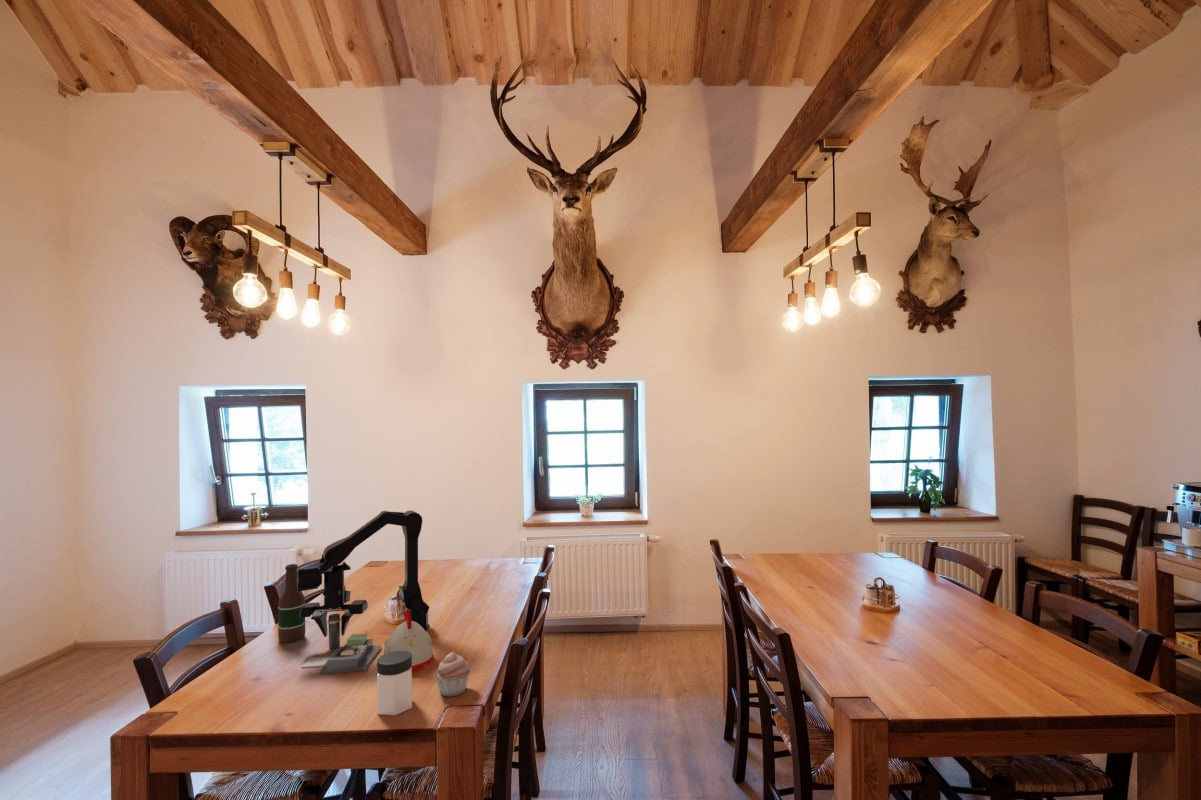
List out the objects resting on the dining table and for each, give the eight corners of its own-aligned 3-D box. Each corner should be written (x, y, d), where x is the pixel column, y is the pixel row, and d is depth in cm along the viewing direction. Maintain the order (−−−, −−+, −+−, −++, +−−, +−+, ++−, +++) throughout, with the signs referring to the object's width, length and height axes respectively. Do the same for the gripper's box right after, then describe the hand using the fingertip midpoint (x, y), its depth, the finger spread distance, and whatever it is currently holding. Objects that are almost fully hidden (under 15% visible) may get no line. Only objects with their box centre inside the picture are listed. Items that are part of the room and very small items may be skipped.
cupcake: (472, 696, 140) (472, 656, 140) (434, 703, 137) (433, 661, 138) (470, 680, 149) (470, 642, 149) (434, 686, 146) (433, 647, 146)
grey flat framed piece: (381, 648, 172) (381, 634, 172) (364, 671, 156) (364, 655, 156) (341, 650, 171) (340, 636, 171) (320, 674, 155) (320, 658, 155)
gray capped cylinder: (342, 644, 175) (342, 612, 176) (338, 649, 172) (338, 616, 172) (330, 645, 175) (330, 613, 175) (326, 650, 171) (326, 617, 172)
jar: (402, 694, 142) (402, 647, 142) (420, 704, 136) (419, 655, 137) (369, 709, 135) (368, 659, 135) (386, 720, 130) (385, 668, 130)
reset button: (356, 654, 161) (356, 649, 162) (351, 659, 158) (351, 654, 158) (343, 655, 161) (343, 650, 161) (338, 660, 158) (338, 655, 158)
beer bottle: (310, 635, 184) (310, 562, 185) (290, 644, 177) (290, 568, 178) (293, 633, 187) (292, 561, 187) (272, 642, 179) (272, 567, 180)
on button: (367, 640, 170) (367, 633, 170) (362, 645, 166) (362, 639, 166) (352, 641, 170) (352, 634, 170) (347, 646, 166) (347, 640, 166)
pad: (331, 657, 166) (331, 656, 166) (323, 666, 160) (323, 665, 160) (310, 659, 165) (310, 657, 165) (301, 668, 159) (301, 666, 159)
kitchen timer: (385, 677, 152) (385, 622, 152) (380, 659, 164) (379, 607, 165) (437, 666, 158) (436, 613, 159) (428, 649, 170) (427, 599, 171)
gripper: (372, 577, 183) (373, 624, 183) (313, 580, 181) (313, 628, 181) (361, 586, 172) (362, 637, 171) (298, 590, 170) (298, 642, 170)
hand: (334, 636), depth 174 cm, fingers open, 5 cm apart
